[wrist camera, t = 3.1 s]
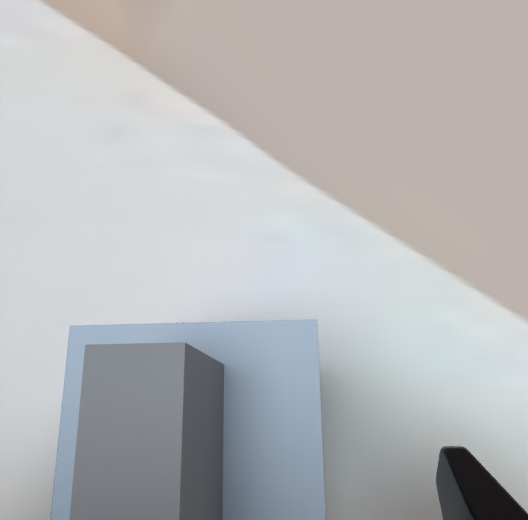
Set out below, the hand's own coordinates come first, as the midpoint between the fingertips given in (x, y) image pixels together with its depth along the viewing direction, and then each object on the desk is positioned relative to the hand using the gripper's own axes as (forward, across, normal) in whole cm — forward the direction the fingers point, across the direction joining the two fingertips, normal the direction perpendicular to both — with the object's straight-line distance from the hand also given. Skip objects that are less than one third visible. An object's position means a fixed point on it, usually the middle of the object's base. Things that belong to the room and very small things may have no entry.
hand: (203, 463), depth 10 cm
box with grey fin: (+6, 0, +6) cm, 8 cm away
